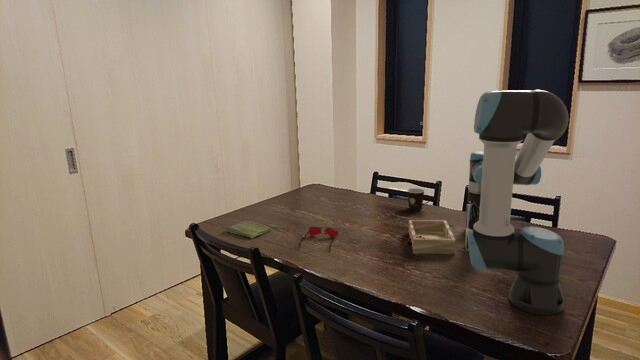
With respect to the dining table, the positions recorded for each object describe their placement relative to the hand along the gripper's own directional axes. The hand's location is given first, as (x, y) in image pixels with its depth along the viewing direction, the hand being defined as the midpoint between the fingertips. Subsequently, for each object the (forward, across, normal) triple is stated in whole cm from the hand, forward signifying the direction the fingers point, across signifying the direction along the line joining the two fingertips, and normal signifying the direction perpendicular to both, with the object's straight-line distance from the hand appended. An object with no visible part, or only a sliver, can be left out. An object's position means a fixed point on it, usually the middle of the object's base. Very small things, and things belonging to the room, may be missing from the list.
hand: (475, 245), depth 171 cm
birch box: (+1, +5, +17) cm, 18 cm away
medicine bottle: (+1, 0, 0) cm, 1 cm away
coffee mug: (+1, +47, +18) cm, 50 cm away
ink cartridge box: (+1, +18, -5) cm, 19 cm away
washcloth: (+2, +16, +98) cm, 100 cm away
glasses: (+2, +3, +64) cm, 64 cm away
